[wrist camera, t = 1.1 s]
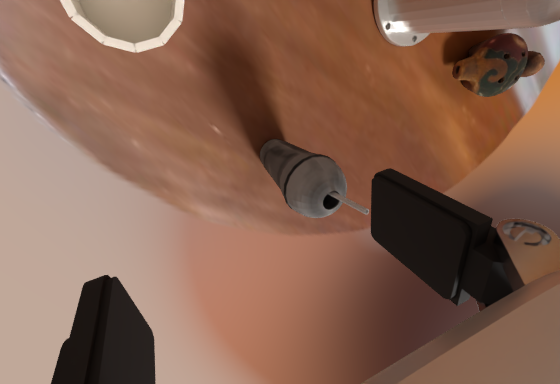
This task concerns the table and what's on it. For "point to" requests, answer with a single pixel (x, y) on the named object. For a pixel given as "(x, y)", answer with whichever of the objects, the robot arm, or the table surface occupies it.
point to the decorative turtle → (497, 65)
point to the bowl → (127, 21)
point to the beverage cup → (306, 179)
